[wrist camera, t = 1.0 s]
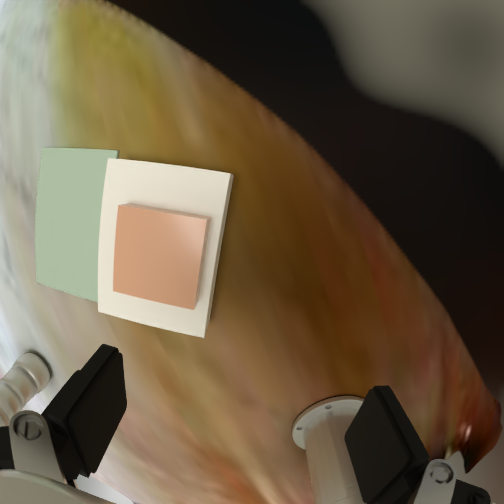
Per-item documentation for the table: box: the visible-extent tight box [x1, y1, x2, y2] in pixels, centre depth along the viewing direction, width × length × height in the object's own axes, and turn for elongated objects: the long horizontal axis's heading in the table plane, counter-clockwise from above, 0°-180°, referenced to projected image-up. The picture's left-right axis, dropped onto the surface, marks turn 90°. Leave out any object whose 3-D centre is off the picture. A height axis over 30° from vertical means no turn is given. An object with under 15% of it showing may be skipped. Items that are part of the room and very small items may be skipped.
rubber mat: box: [35, 148, 119, 302], centre depth 29 cm, size 12×18×1 cm, turn 169°
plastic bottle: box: [0, 353, 50, 427], centre depth 24 cm, size 6×7×20 cm
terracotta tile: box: [113, 203, 211, 310], centre depth 24 cm, size 8×8×2 cm
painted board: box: [98, 158, 234, 338], centre depth 27 cm, size 12×16×4 cm
